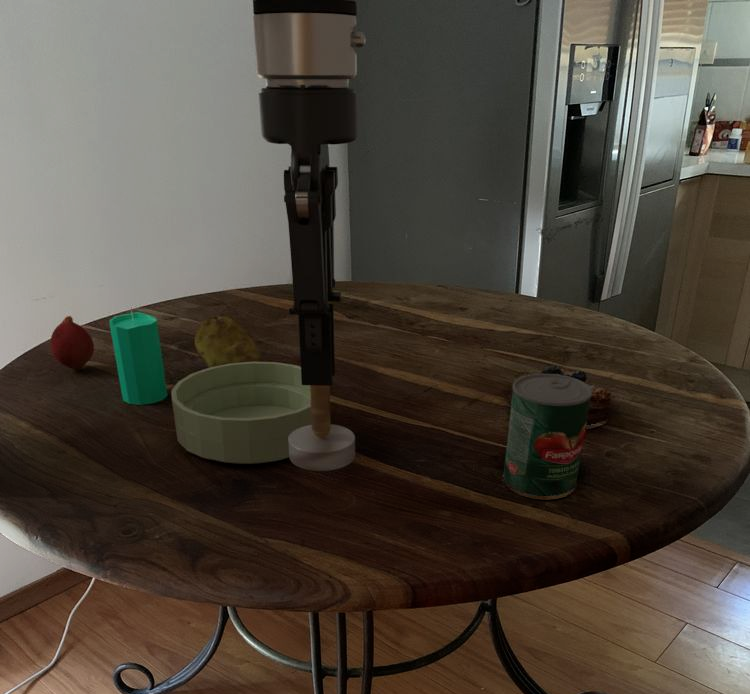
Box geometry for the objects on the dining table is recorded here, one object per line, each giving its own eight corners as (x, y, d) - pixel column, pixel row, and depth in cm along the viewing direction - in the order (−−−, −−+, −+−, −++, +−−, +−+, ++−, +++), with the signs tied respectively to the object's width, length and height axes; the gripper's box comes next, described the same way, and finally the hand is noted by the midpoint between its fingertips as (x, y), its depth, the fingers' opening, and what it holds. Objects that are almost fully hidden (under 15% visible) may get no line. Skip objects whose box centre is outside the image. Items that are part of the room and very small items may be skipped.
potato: (210, 396, 100) (204, 339, 96) (194, 365, 110) (188, 312, 106) (270, 388, 102) (266, 332, 98) (249, 359, 113) (244, 307, 109)
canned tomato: (558, 508, 75) (574, 409, 69) (489, 486, 79) (499, 390, 73) (587, 478, 81) (603, 384, 75) (521, 459, 84) (532, 368, 79)
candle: (128, 387, 102) (113, 301, 96) (172, 387, 102) (160, 301, 96) (117, 404, 97) (100, 314, 91) (163, 404, 97) (149, 314, 91)
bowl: (158, 466, 82) (150, 417, 79) (199, 403, 98) (194, 359, 95) (320, 471, 81) (319, 422, 78) (335, 406, 97) (335, 363, 94)
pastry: (543, 437, 89) (549, 392, 86) (496, 401, 99) (501, 359, 96) (619, 426, 93) (627, 382, 90) (567, 391, 102) (573, 351, 99)
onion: (65, 380, 104) (53, 324, 100) (49, 369, 108) (37, 315, 104) (104, 370, 108) (94, 316, 104) (87, 360, 111) (77, 308, 107)
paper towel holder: (284, 470, 69) (273, 300, 61) (294, 440, 74) (285, 281, 66) (352, 472, 68) (350, 302, 60) (357, 442, 74) (355, 282, 66)
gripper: (350, 86, 49) (353, 412, 61) (363, 83, 62) (364, 353, 74) (238, 85, 49) (263, 410, 61) (274, 82, 62) (289, 351, 74)
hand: (318, 378), depth 67 cm, fingers closed on paper towel holder, 2 cm apart
